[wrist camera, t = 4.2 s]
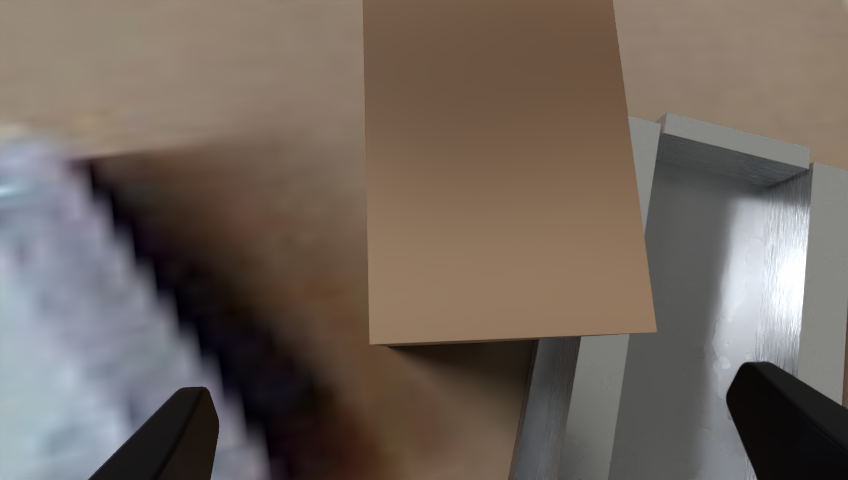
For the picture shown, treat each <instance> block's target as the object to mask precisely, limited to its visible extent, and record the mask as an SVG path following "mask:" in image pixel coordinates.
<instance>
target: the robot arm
mask: <svg viewBox="0 0 848 480" xmlns="http://www.w3.org/2000/svg"><path fill="white" fill-rule="evenodd" d="M726 403H727V407H728V410H729V412H730V415H731V417H732V420H733V422H734V424H735V427H736V429H737V432H738V434H739V436H740V439H741V441H742V444H743V446H744V449H745V451H746V453H747V456H748V458H749V461H750V463H751V465H752V468H753V470H754V473H755V475H756V477H757V480H848V409H847V408H845V407H843V406H842V405H840V404H838V403H837V402H835V401H834V400H832V399H830V398H829V397H827V396H825V395H824V394H822V393H821V392H819V391H817V390H816V389H814V388H812V387H811V386H809V385H808V384H806V383H804V382H803V381H801V380H799V379H798V378H796V377H795V376H793V375H791V374H790V373H788V372H786V371H785V370H783V369H782V368H780V367H778V366H777V365H775V364H773V363H771V362H768V361H752V362H745V363H743V364H742V365H741V366H740V367H739V369H738V371H737V373H736V375H735V377H734V379H733V381H732V382H731V384H730V386H729V388H728V390H727V393H726ZM218 433H219V419H218V416H217V413H216V410H215V407H214V404H213V401H212V398H211V395H210V392H209V390H208V389H207V388H206V387H185V388H181V389H179V390H178V391H176V392H175V393H174V394H173V395H172V396H171V397H170V398H169V399H168V400H167V401H166V402H165V403H164V404H163V405H162V406H161V407H160V408H159V409H158V410H157V411H156V412H155V413H154V414H153V415H152V416H151V417H150V418H149V419H148V420H147V421H146V422H145V423H144V424H143V425H142V426H141V427H140V428H139V429H138V430H137V431H136V432H135V433H134V434H133V435H132V436H131V437H130V438H129V439H128V440H127V441H126V442H125V443H124V444H123V445H122V446H121V447H120V448H119V449H118V450H117V451H116V452H115V453H114V454H113V455H112V456H111V457H110V458H109V459H108V460H107V461H106V462H105V463H104V464H103V465H102V466H101V467H100V468H99V469H98V470H97V471H96V472H95V473H94V474H93V475H92V476H91V477H90V478H89V479H88V480H210V479H211V474H212V468H213V462H214V456H215V451H216V445H217V439H218Z"/></svg>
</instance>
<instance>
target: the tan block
mask: <svg viewBox="0 0 848 480" xmlns="http://www.w3.org/2000/svg"><path fill="white" fill-rule="evenodd" d="M363 34H364V84H365V134H366V184H367V234H368V284H369V334H370V345H378V346H386V347H390V346H413V345H437V344H460V343H483V342H500V341H517V340H534V339H551V338H567V337H584V336H601V335H618V334H635V333H652V332H657V328H656V321H655V313H654V306H653V298H652V291H651V284H650V276H649V269H648V261H647V254H646V246H645V239H644V231H643V224H642V217H641V209H640V202H639V194H638V187H637V179H636V172H635V164H634V157H633V149H632V142H631V135H630V127H629V120H628V112H627V105H626V97H625V90H624V82H623V75H622V68H621V60H620V53H619V45H618V38H617V30H616V23H615V15H614V8H613V1H612V0H363Z"/></svg>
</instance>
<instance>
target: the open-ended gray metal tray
mask: <svg viewBox="0 0 848 480" xmlns="http://www.w3.org/2000/svg"><path fill="white" fill-rule="evenodd" d="M628 120H629V127H630V135H631V142H632V149H633V157H634V164H635V172H636V179H637V187H638V194H639V202H640V209H641V217H642V224H643V231H644V239H645V246H646V254H647V261H648V269H649V276H650V284H651V291H652V298H653V306H654V313H655V321H656V328H657V332H652V333H635V334H618V335H601V336H584V337H567V338H551V339H535V342H534V347H533V352H532V358H531V363H530V368H529V373H528V379H527V384H526V389H525V395H524V400H523V405H522V410H521V416H520V421H519V426H518V431H517V437H516V442H515V447H514V453H513V458H512V463H511V468H510V474H509V479H508V480H757V477H756V475H755V473H754V470H753V468H752V465H751V463H750V461H749V458H748V456H747V453H746V451H745V449H744V446H743V444H742V441H741V439H740V436H739V434H738V432H737V429H736V427H735V424H734V422H733V420H732V417H731V415H730V412H729V410H728V407H727V403H726V393H727V390H728V388H729V386H730V384H731V382H732V381H733V379H734V377H735V375H736V373H737V371H738V369H739V367H740V366H741V365H742V364H743V363H745V362H752V361H768V362H771V363H773V364H775V365H777V366H778V367H780V368H782V369H783V370H785V371H786V372H788V373H790V374H791V375H793V376H795V377H796V378H798V379H799V380H801V381H803V382H804V383H806V384H808V385H809V386H811V387H812V388H814V389H816V390H817V391H819V392H821V393H822V394H824V395H825V396H827V397H829V398H830V399H832V400H834V401H835V402H837V403H838V404H840V405H842V394H843V377H844V359H845V342H846V324H847V307H848V170H844V169H839V168H835V167H831V166H827V165H823V164H819V163H815V162H813V163H810V164H809V161H810V149H811V148H809V147H805V146H801V145H797V144H792V143H788V142H784V141H780V140H776V139H772V138H768V137H764V136H760V135H756V134H752V133H748V132H744V131H740V130H736V129H732V128H728V127H724V126H720V125H716V124H712V123H708V122H704V121H700V120H696V119H692V118H688V117H684V116H680V115H676V114H672V113H668V112H667V113H666V114H665V115H663V116H662V117H661V118H660V119H659V120H658V121H656V122H651V121H647V120H643V119H639V118H635V117H631V116H628Z"/></svg>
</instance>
